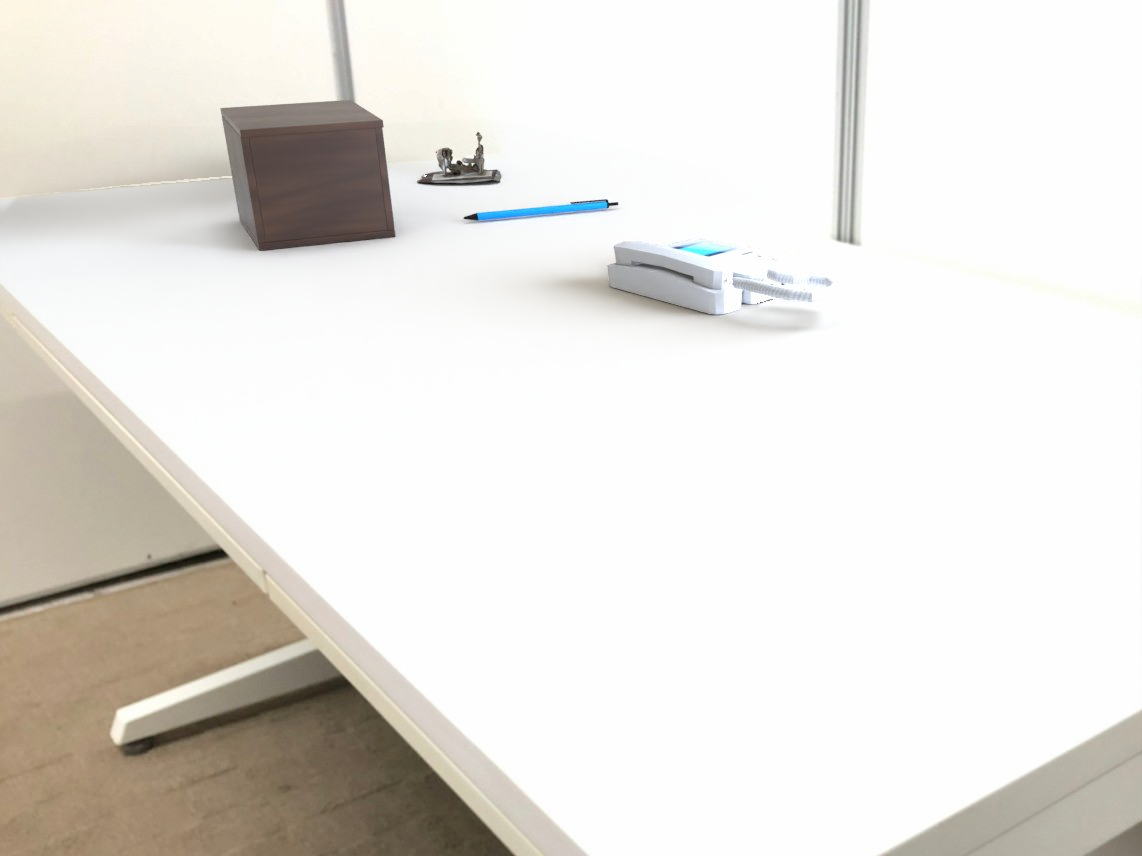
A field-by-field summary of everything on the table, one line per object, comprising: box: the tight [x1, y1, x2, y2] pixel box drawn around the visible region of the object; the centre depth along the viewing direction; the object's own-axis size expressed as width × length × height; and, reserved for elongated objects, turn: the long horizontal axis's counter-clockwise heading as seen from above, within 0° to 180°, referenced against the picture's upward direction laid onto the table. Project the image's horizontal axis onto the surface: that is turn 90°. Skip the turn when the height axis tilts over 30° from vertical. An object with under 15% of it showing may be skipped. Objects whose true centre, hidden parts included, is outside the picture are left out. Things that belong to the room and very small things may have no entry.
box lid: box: [220, 99, 385, 138], centre depth 144 cm, size 17×15×1 cm
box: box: [221, 115, 396, 251], centre depth 147 cm, size 17×15×12 cm
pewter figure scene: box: [417, 131, 502, 184], centre depth 175 cm, size 12×6×11 cm
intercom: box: [606, 238, 841, 316], centre depth 122 cm, size 13×4×25 cm
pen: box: [461, 198, 619, 222], centre depth 155 cm, size 1×19×1 cm, turn 114°
